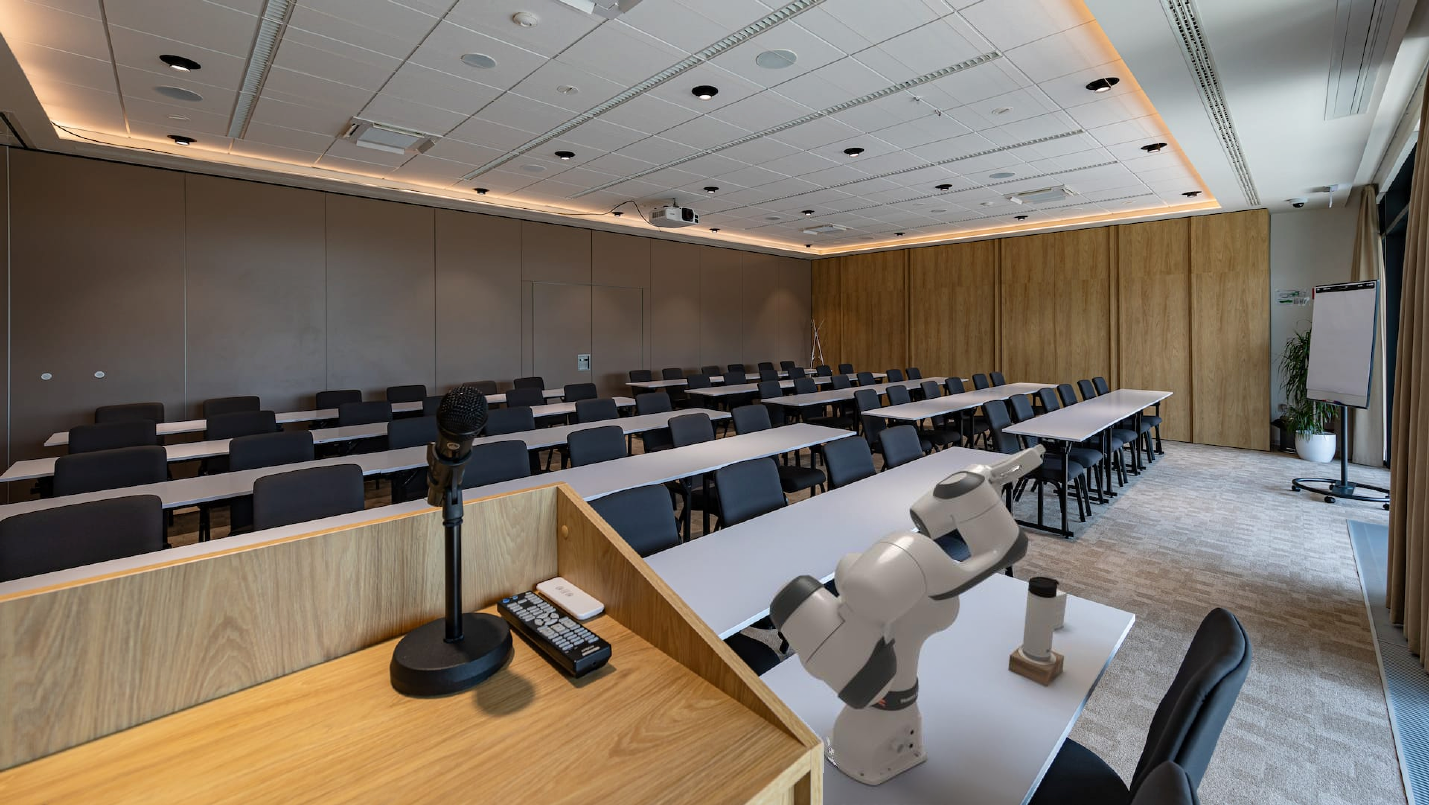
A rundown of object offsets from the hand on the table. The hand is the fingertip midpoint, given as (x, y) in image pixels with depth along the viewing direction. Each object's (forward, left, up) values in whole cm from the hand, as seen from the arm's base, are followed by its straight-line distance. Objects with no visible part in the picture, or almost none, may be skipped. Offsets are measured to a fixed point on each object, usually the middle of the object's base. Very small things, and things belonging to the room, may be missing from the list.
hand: (1028, 452), depth 128 cm
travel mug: (+21, +2, -56) cm, 60 cm away
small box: (+48, +10, -61) cm, 78 cm away
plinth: (+22, +2, -60) cm, 64 cm away
